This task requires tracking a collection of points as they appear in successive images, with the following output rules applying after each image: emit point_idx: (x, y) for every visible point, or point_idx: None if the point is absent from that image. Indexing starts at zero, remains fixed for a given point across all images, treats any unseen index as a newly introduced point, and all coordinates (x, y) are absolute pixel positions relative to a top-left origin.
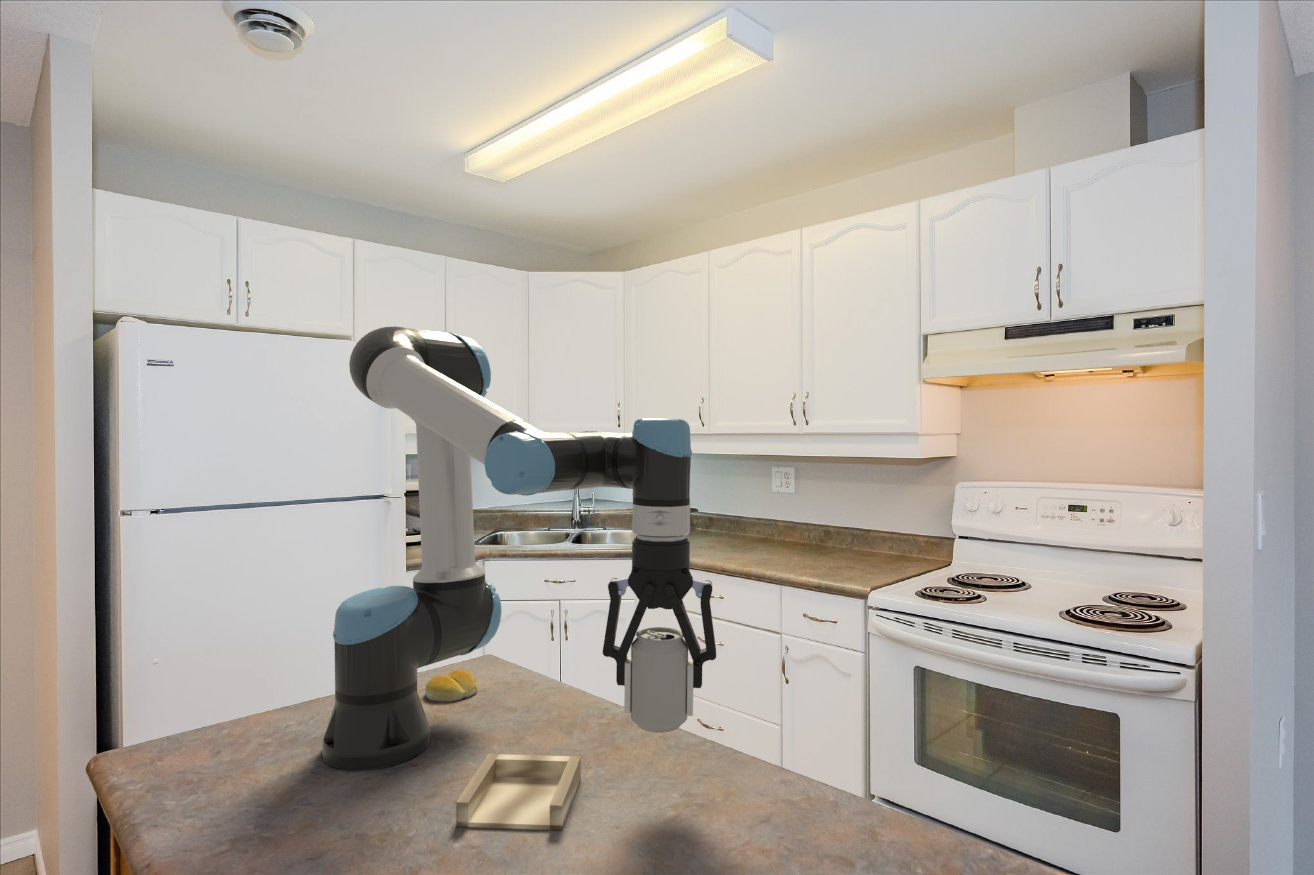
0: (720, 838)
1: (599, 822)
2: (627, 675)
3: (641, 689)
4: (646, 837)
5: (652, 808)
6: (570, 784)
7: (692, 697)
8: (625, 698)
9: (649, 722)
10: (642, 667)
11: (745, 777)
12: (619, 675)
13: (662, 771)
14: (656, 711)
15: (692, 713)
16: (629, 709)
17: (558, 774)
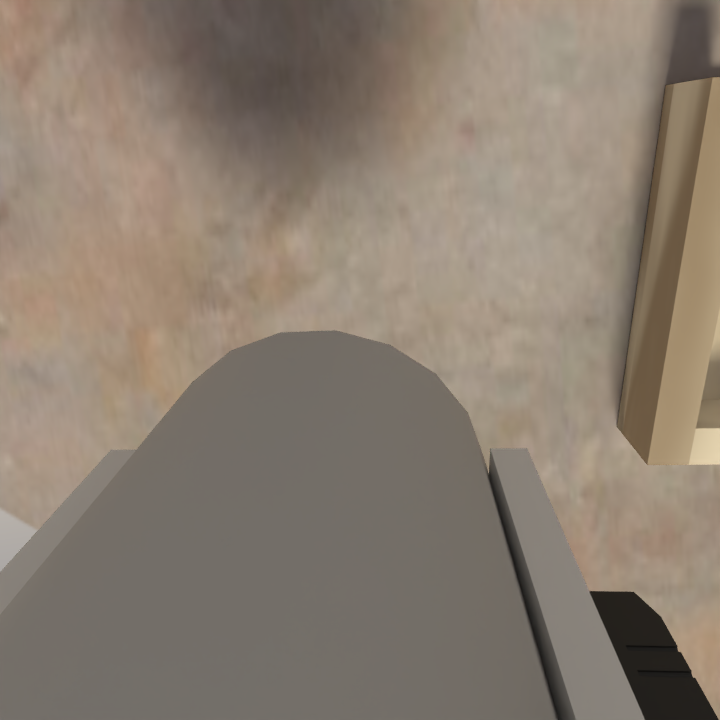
0: (115, 92)
1: (534, 154)
2: (581, 640)
3: (422, 478)
4: (362, 71)
5: (362, 261)
6: (679, 261)
7: (54, 517)
8: (542, 503)
9: (357, 348)
10: (425, 637)
11: (96, 465)
12: (655, 661)
13: None
14: (301, 367)
15: (105, 456)
16: (498, 462)
17: (706, 405)
